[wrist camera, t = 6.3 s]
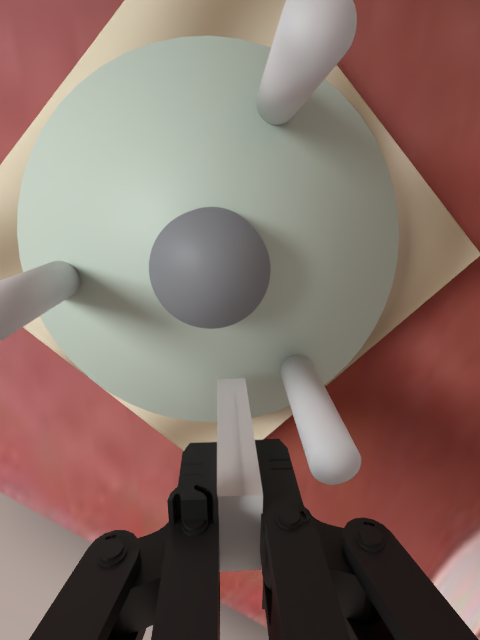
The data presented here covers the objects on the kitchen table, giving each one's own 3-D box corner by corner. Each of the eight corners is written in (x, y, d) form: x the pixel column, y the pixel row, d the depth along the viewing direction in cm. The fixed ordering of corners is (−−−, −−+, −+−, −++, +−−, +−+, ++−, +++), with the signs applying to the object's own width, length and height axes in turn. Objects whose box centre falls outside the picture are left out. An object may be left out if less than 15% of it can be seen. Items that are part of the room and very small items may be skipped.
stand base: (-38, 250, 18) (-91, 260, 15) (208, -68, 15) (204, -137, 12) (221, 456, 23) (221, 496, 20) (458, 252, 19) (502, 262, 16)
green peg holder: (188, 459, 20) (167, 606, 13) (-48, 219, 16) (-281, 238, 8) (446, 289, 18) (601, 353, 10) (251, -57, 13) (283, -367, 6)
